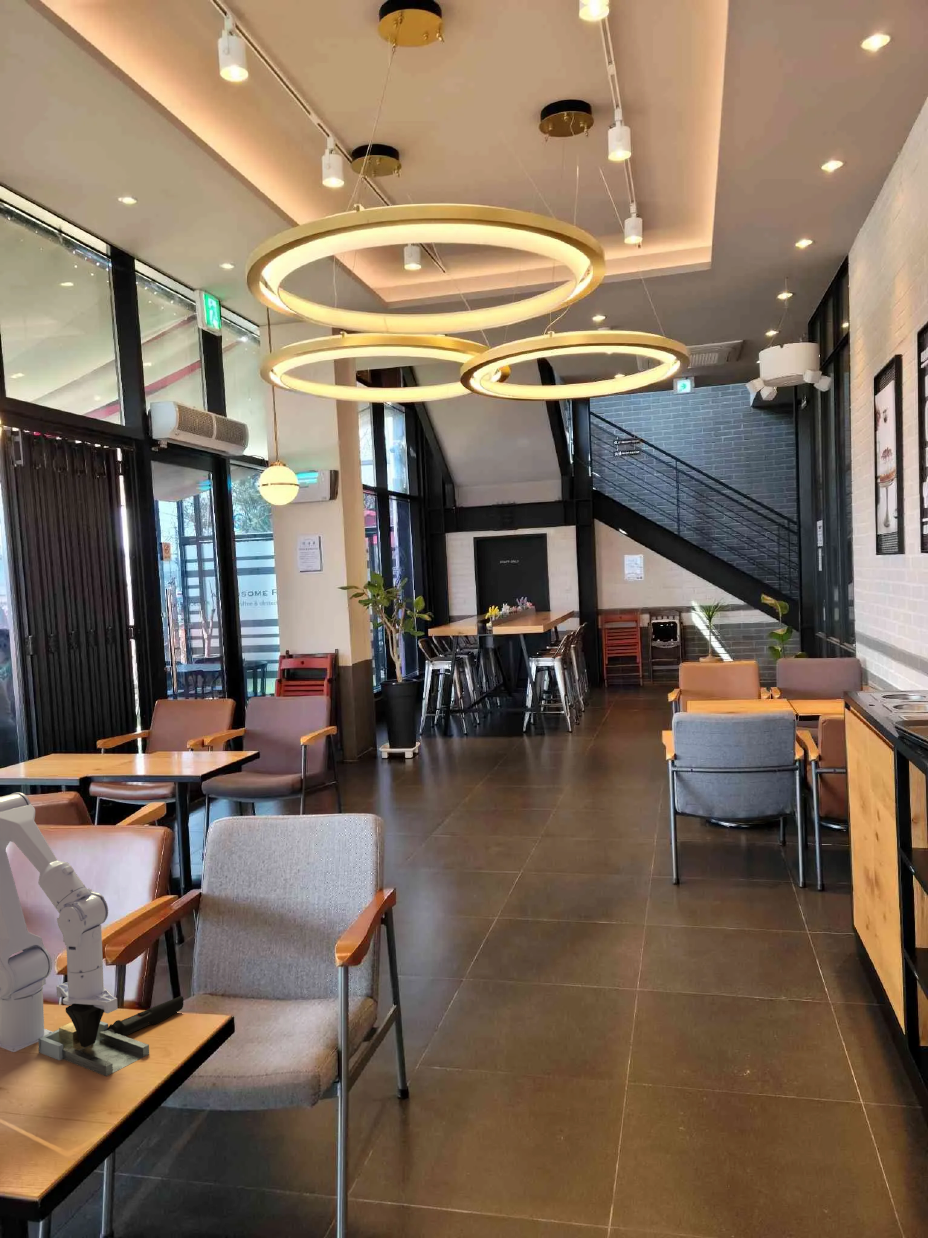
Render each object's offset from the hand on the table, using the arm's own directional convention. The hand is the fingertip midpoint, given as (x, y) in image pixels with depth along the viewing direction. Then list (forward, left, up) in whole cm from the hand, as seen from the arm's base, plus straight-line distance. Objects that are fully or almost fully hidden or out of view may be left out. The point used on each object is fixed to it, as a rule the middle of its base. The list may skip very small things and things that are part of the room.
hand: (88, 1044), depth 156 cm
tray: (-4, 0, -1) cm, 4 cm away
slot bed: (+5, 0, -1) cm, 5 cm away
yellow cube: (-3, 0, -1) cm, 3 cm away
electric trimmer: (+1, +11, -1) cm, 11 cm away
